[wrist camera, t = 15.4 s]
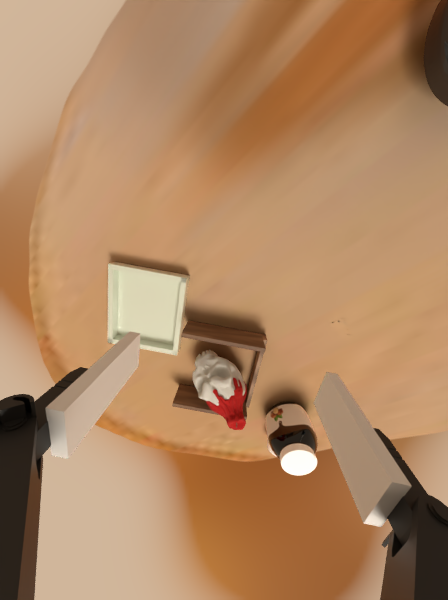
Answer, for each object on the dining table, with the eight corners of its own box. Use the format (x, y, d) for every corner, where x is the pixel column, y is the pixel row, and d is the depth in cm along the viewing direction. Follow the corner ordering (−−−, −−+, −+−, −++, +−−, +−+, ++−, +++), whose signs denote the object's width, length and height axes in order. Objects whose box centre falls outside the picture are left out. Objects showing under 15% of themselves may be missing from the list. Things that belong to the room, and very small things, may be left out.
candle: (216, 340, 43) (248, 416, 34) (238, 354, 52) (268, 418, 42) (181, 363, 44) (203, 442, 35) (208, 373, 53) (231, 438, 44)
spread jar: (299, 394, 49) (318, 441, 38) (315, 428, 52) (336, 481, 41) (252, 410, 51) (257, 459, 40) (270, 442, 54) (278, 496, 43)
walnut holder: (188, 320, 45) (181, 333, 39) (265, 334, 45) (269, 349, 39) (179, 386, 50) (172, 406, 45) (248, 399, 50) (249, 420, 45)
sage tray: (115, 261, 42) (108, 263, 39) (189, 275, 42) (186, 278, 39) (114, 336, 47) (107, 342, 45) (180, 348, 47) (177, 355, 45)
